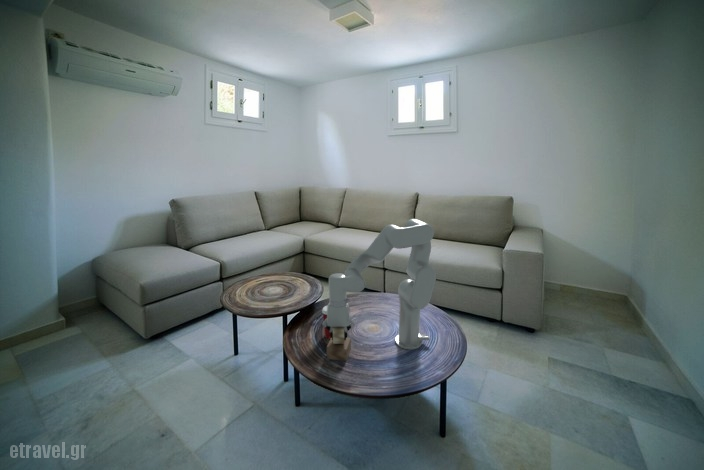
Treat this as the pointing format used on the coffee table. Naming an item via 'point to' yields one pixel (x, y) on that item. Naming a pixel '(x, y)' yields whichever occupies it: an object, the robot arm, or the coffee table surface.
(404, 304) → the robot arm
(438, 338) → the coffee table surface
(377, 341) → the coffee table surface
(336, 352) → the tan wooden cube
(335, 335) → the oak block
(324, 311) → the coffee cup
